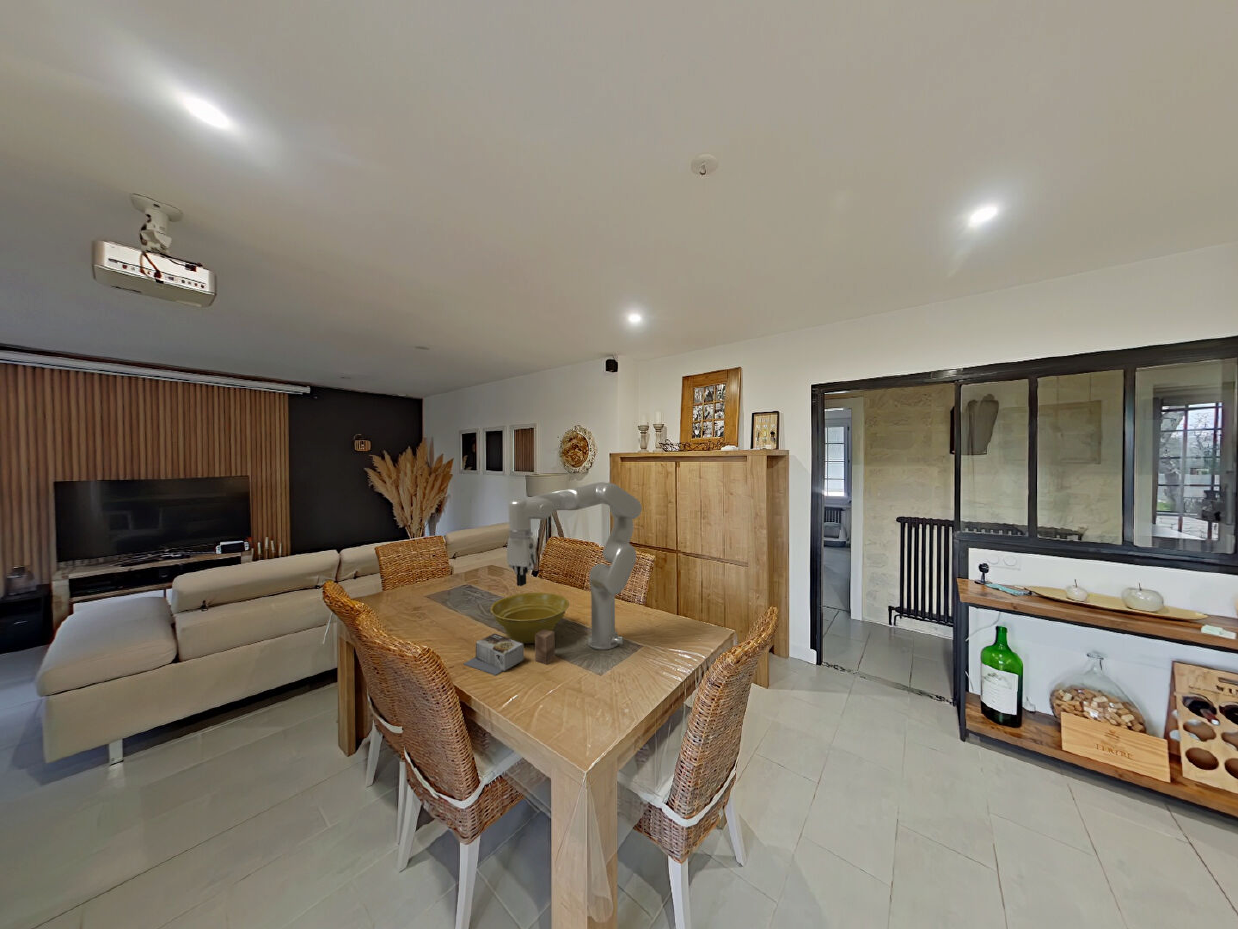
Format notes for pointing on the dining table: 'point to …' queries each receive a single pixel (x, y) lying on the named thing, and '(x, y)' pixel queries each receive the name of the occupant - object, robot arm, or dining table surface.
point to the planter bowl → (529, 614)
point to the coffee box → (499, 651)
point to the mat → (483, 666)
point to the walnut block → (544, 647)
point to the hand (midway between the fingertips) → (521, 584)
